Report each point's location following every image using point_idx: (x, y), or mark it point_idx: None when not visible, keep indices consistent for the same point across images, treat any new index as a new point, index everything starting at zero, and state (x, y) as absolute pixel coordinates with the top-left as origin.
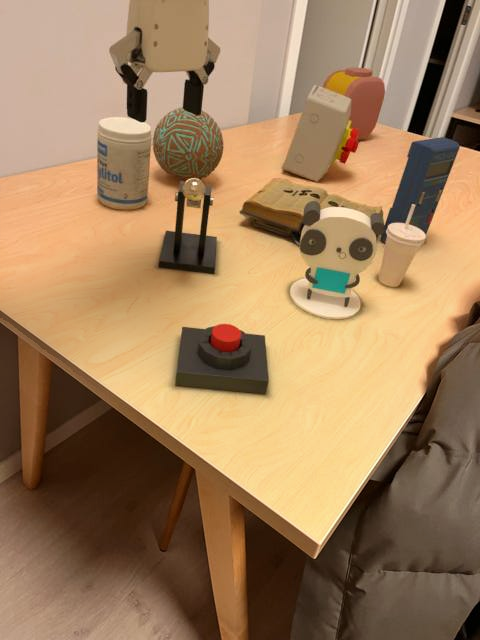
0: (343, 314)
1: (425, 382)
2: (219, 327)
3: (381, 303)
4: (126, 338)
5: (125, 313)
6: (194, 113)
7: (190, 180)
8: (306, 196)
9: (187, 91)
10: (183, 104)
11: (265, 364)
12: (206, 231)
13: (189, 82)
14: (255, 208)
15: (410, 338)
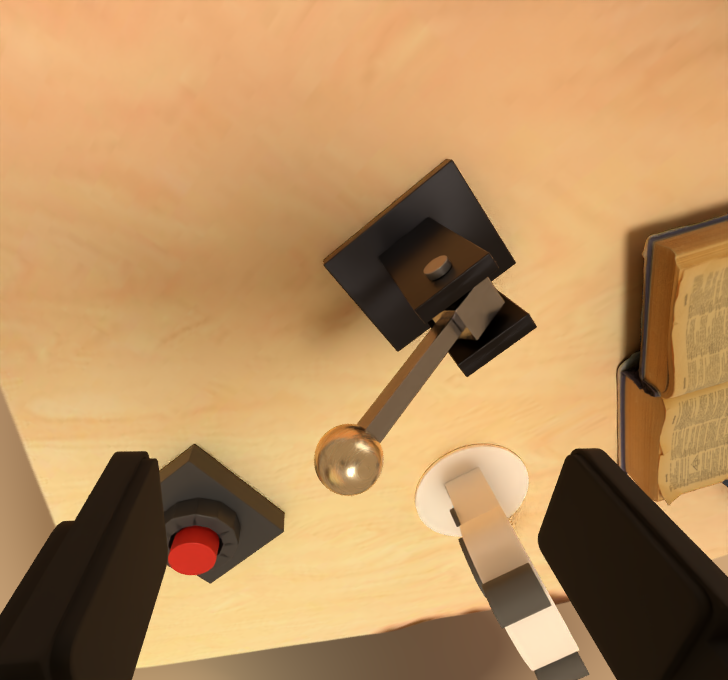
0: (446, 529)
1: (391, 629)
2: (191, 547)
3: (520, 536)
4: (115, 395)
5: (156, 343)
6: (542, 530)
7: (337, 477)
8: None
9: (632, 570)
10: (583, 473)
11: (231, 566)
12: None
13: (686, 642)
14: (665, 282)
15: (463, 589)
